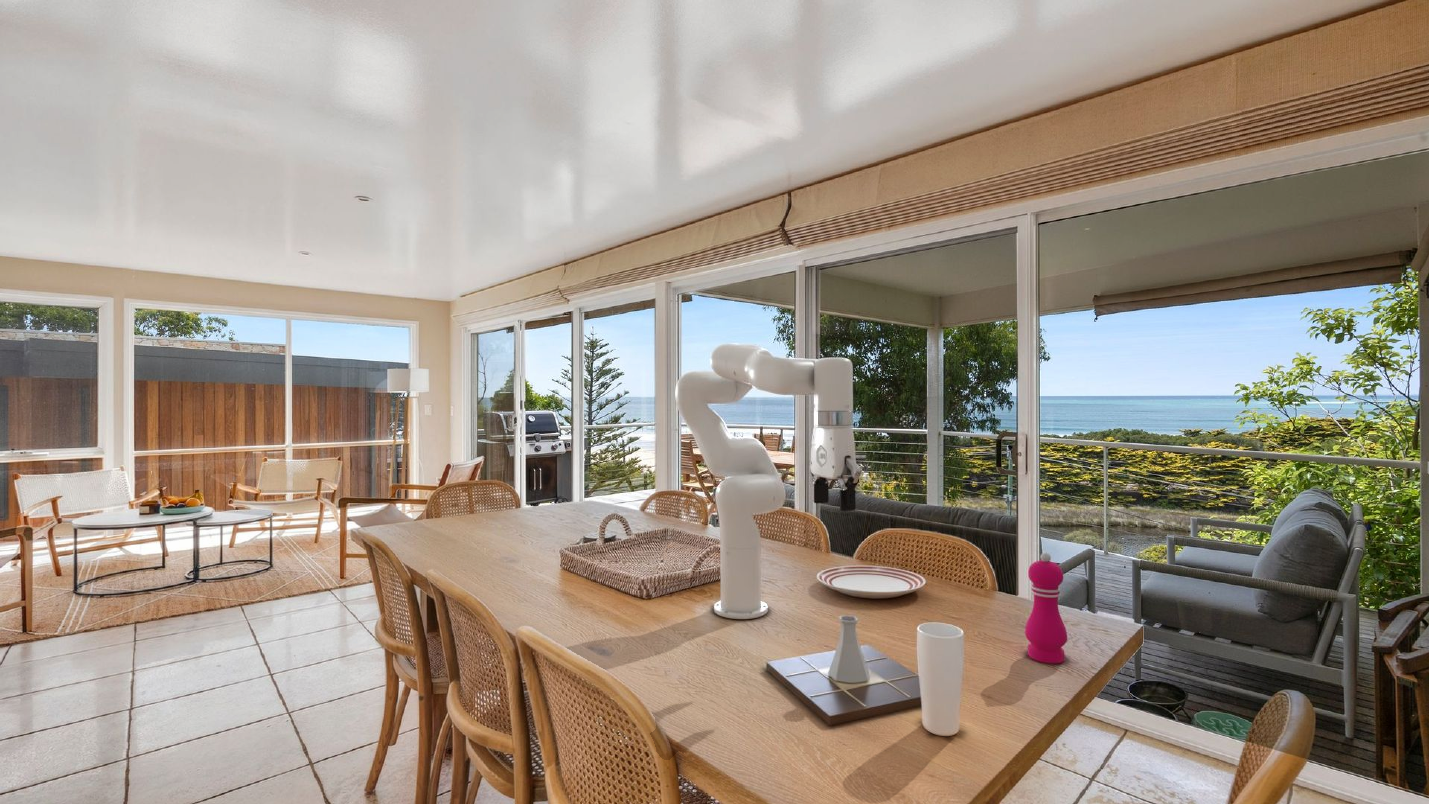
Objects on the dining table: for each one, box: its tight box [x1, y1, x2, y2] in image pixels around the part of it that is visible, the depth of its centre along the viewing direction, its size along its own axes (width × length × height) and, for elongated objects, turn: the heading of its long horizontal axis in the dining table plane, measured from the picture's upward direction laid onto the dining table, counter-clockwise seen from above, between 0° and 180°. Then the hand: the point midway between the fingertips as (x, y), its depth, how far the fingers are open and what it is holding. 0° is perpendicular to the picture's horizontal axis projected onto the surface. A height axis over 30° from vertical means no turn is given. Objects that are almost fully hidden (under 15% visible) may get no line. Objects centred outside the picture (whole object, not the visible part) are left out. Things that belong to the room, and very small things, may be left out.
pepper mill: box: [1024, 552, 1068, 664], centre depth 125 cm, size 7×7×20 cm
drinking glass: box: [916, 621, 965, 737], centre depth 98 cm, size 7×7×15 cm
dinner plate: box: [816, 565, 927, 599], centre depth 170 cm, size 27×27×3 cm
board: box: [765, 644, 922, 727], centre depth 114 cm, size 22×22×2 cm
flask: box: [828, 614, 870, 683], centre depth 114 cm, size 7×7×10 cm
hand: (833, 506), depth 130 cm, fingers open, 9 cm apart
